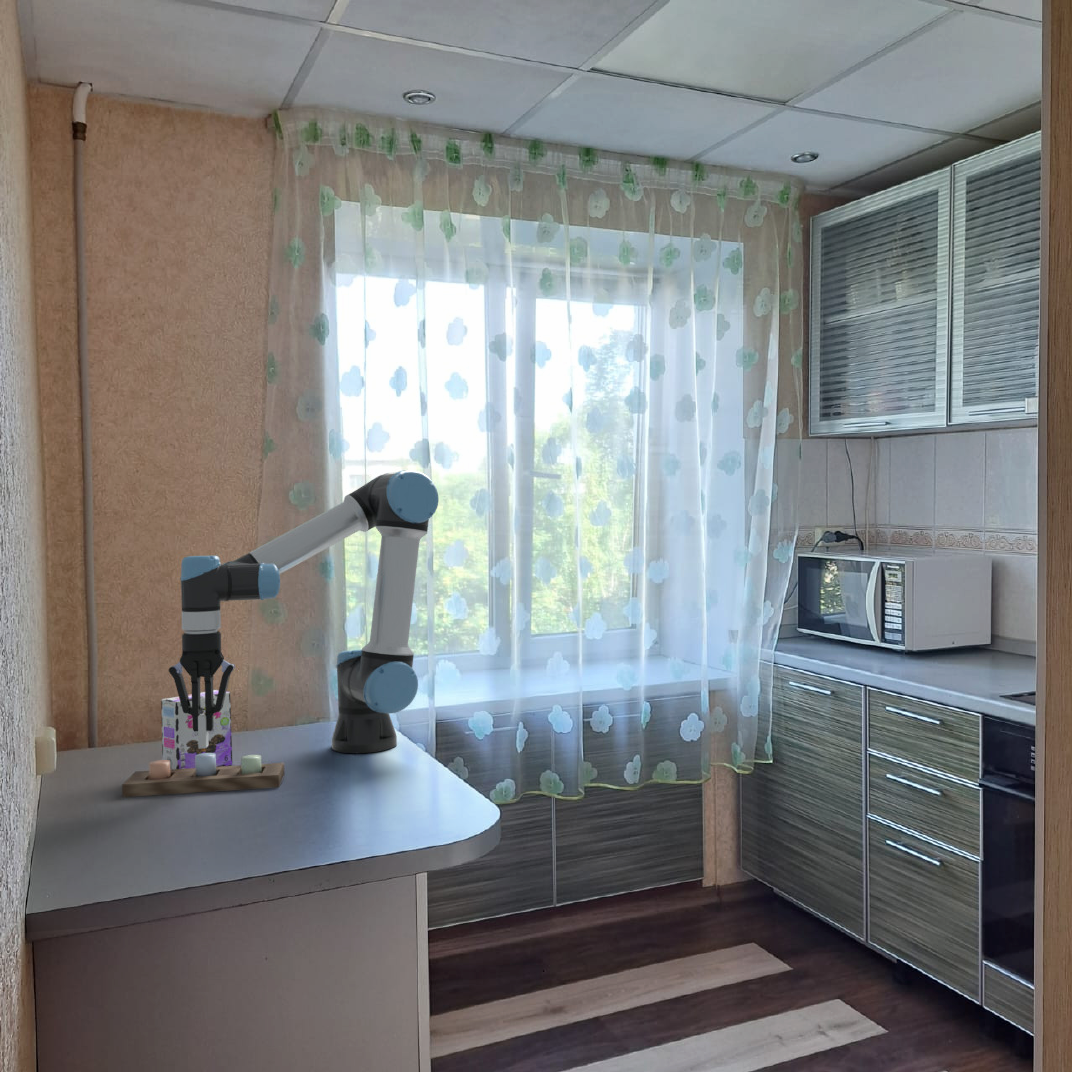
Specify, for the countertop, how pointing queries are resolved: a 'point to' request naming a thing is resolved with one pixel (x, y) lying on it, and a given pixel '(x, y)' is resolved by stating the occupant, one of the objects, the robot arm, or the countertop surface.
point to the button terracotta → (159, 769)
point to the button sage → (251, 764)
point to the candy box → (194, 733)
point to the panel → (203, 781)
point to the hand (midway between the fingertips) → (203, 746)
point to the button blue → (205, 764)
